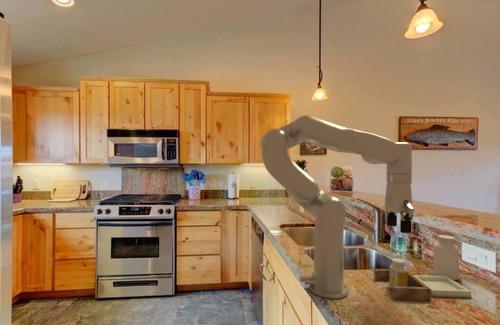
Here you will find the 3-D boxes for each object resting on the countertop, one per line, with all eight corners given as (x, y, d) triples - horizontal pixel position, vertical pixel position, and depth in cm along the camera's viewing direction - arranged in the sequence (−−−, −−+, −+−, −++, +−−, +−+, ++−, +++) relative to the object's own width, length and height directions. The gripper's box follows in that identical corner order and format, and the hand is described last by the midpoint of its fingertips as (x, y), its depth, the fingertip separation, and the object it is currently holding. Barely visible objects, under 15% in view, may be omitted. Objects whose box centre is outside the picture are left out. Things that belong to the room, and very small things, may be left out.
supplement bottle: (387, 288, 92) (387, 260, 92) (392, 283, 96) (392, 256, 96) (405, 293, 88) (405, 264, 88) (409, 288, 92) (409, 260, 92)
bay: (393, 299, 85) (393, 287, 85) (374, 278, 100) (374, 269, 100) (430, 300, 84) (430, 289, 84) (405, 279, 99) (405, 269, 99)
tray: (431, 296, 87) (431, 290, 87) (411, 280, 99) (411, 275, 99) (471, 297, 86) (471, 291, 86) (446, 281, 98) (446, 276, 98)
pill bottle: (463, 282, 97) (463, 240, 98) (437, 278, 100) (436, 238, 100) (454, 273, 105) (454, 234, 105) (430, 271, 108) (430, 233, 108)
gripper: (377, 177, 101) (377, 223, 101) (399, 180, 84) (399, 235, 84) (398, 178, 101) (397, 224, 101) (424, 180, 84) (424, 236, 83)
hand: (398, 229), depth 92 cm, fingers open, 9 cm apart
